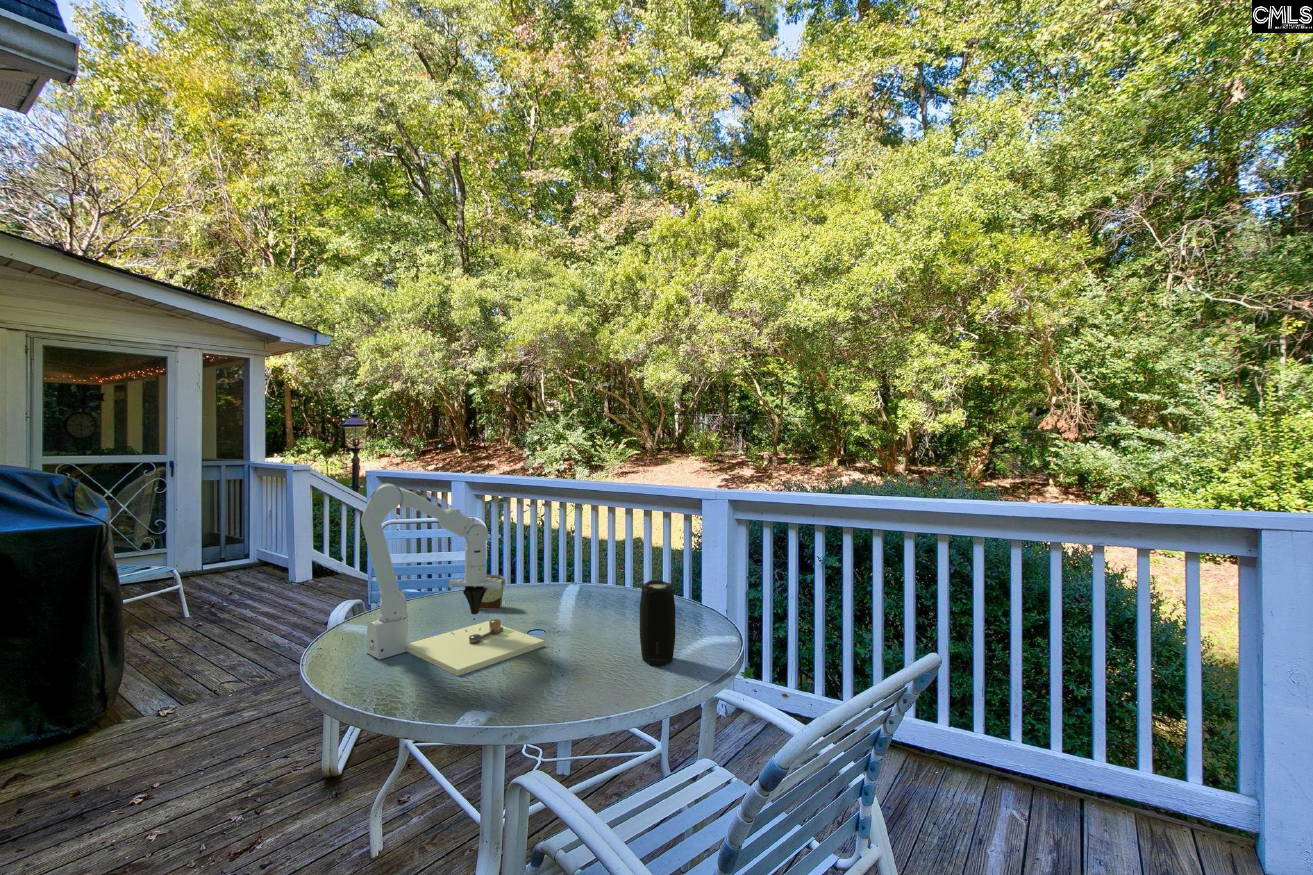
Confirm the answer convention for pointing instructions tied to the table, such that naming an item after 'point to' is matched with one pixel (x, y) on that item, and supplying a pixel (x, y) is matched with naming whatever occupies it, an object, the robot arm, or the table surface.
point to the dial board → (472, 648)
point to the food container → (493, 595)
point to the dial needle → (493, 629)
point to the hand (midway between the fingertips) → (475, 613)
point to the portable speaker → (657, 622)
